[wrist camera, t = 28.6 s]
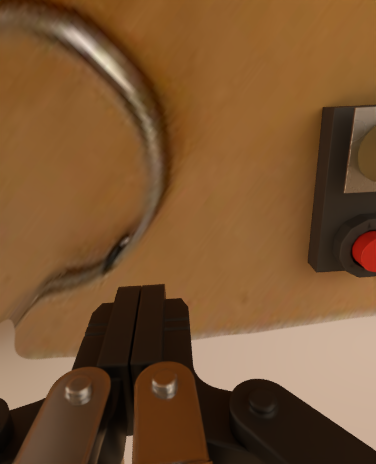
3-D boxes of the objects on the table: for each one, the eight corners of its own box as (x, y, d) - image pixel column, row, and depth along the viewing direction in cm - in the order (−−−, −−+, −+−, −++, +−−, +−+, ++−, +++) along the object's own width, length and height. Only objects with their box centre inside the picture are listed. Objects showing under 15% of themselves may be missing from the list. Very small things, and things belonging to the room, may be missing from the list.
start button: (354, 231, 36) (364, 238, 34) (391, 229, 36) (402, 236, 34) (349, 265, 37) (358, 273, 35) (384, 262, 37) (395, 271, 36)
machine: (322, 107, 35) (343, 108, 31) (416, 102, 35) (450, 103, 31) (307, 262, 42) (322, 280, 37) (386, 257, 42) (410, 274, 38)
